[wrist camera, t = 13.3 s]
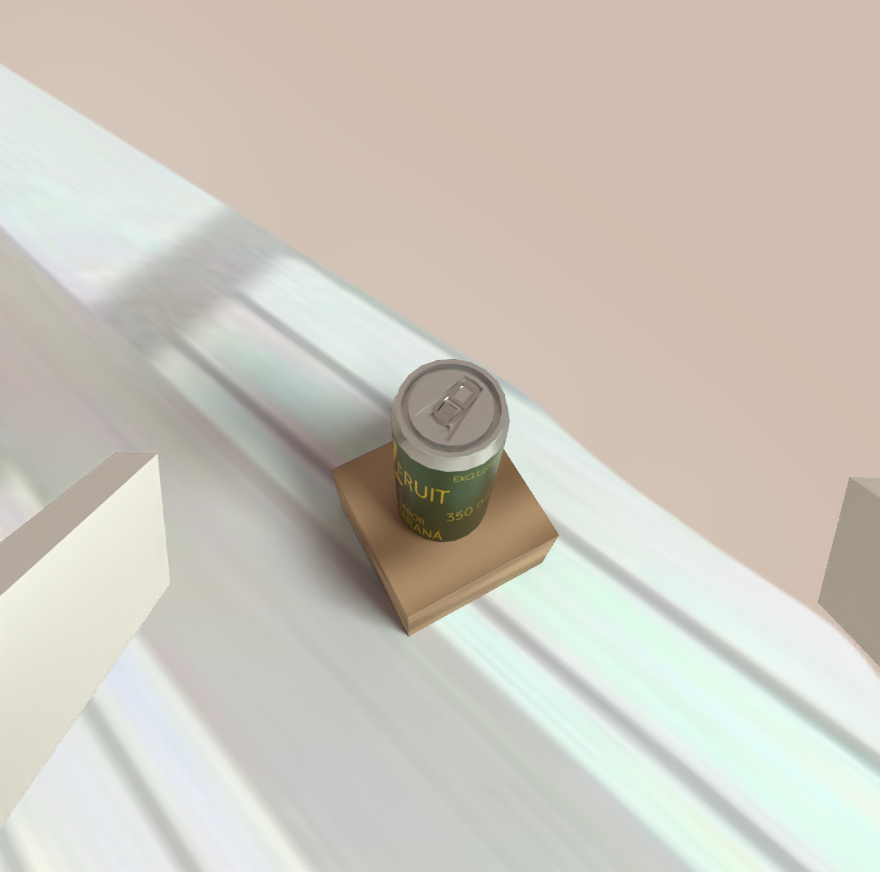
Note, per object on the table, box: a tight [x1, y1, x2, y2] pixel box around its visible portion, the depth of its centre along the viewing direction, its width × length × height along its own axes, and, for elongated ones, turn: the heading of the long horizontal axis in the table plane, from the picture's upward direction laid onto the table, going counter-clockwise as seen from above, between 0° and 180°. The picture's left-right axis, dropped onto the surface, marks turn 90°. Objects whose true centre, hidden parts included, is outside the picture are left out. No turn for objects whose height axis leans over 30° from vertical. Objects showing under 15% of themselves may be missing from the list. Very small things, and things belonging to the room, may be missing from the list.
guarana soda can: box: [391, 359, 510, 542], centre depth 35 cm, size 5×5×12 cm
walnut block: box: [332, 441, 559, 636], centre depth 43 cm, size 10×10×6 cm
